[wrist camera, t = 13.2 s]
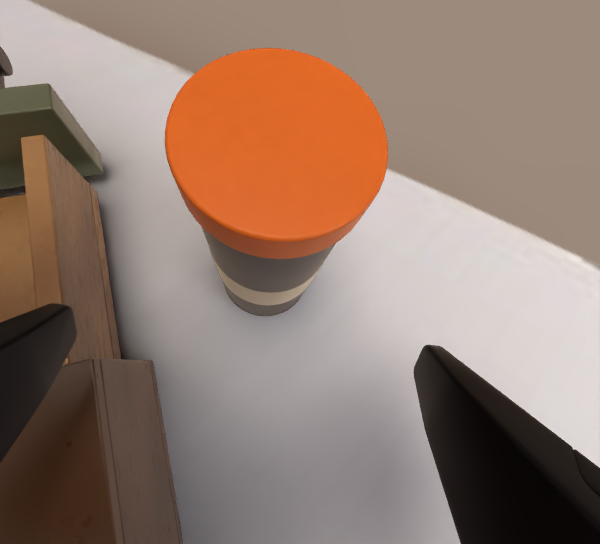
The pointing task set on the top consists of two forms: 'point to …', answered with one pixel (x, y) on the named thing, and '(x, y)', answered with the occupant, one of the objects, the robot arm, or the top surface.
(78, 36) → the top surface
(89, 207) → the drawer
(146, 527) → the cabinet
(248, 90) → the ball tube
